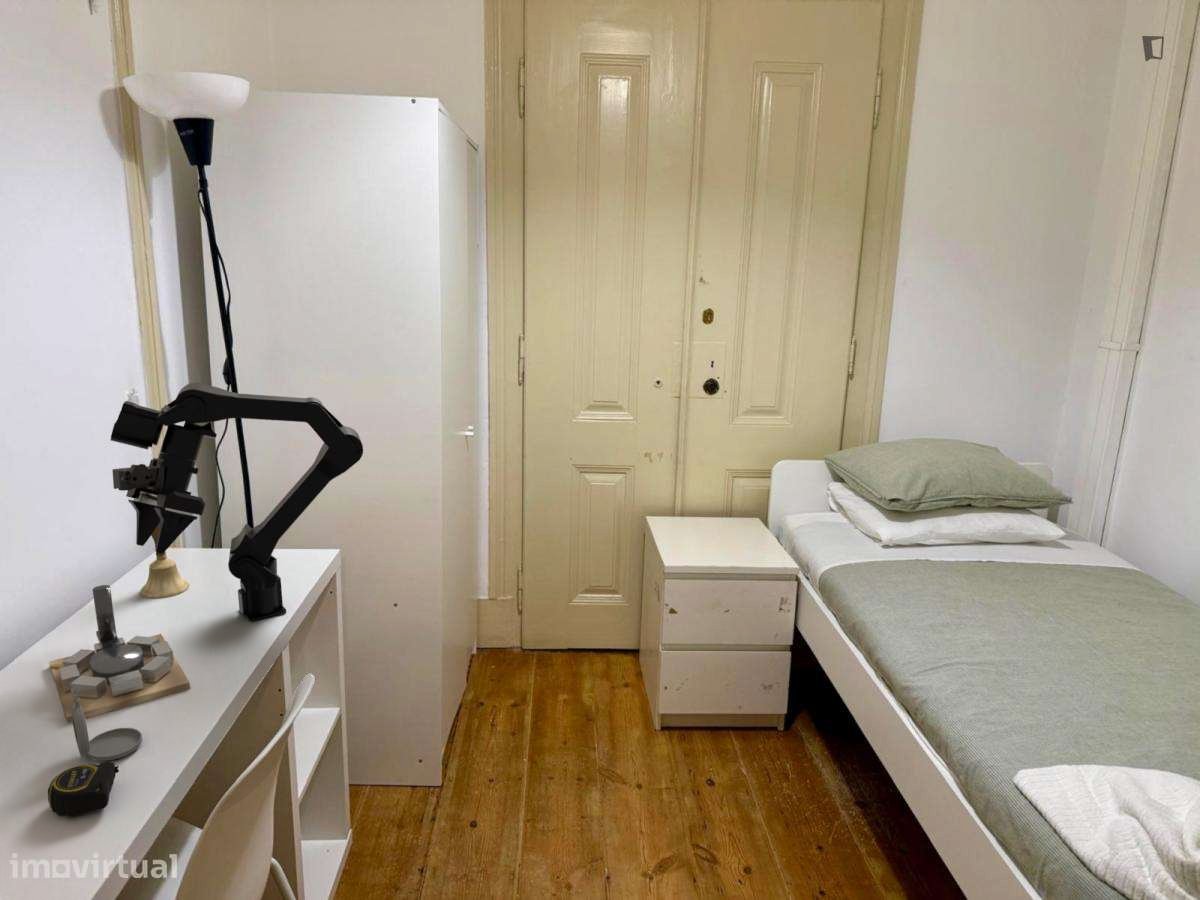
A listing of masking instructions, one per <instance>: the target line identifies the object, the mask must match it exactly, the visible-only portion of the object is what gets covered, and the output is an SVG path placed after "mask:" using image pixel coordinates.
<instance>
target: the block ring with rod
mask: <svg viewBox="0 0 1200 900" xmlns="http://www.w3.org/2000/svg"><path fill="white" fill-rule="evenodd" d="M92 596H93V604H94V611H95V617H96V623H97V624H96V625H97V630H96V631H95V634H96V638H97V640H98V642H97V643H93V647H94V649H83V648H82V649H79V650H78V651H77V652H75V653H74V654H73V655H70V656H71V657H69V656H68V657H69V658H68V659H66V660H65V661H63V666H64V667H62V668H59V674H60V680H61V683H62V686H63V689H64V692H66V691H70V690H71V689H72V690H73V691H74V692H75V694H76V695H78V696H79V697H89V698H99V697H100V696H101V695H102V694H104V693H105V692H106V691H108V688H107V681H106V678H99V677H88V676H80V673H81V672H83V671H84V670H86V669H87V668H88V667H90V666H91V665H90V658H91V657H92V656H93V655H94V654H95V653H97V652H98V651H100V650H103V649H105V648H108V647H112V646H116V645H124V644H125V643H126V642H125V639H124V637H118V635H117V629H116V627H117V626H116V621H115V612H114V606H113V605H114V604H113V598H112V590H111V586H110V585H108V584H103V585H102V584H101V585H98V586H94V587H93V588H92ZM127 644H131V645H137V646H139V647H141V649H142V652H143V655H148V656H152V655H153V657H154V659H152V660H151V661H150V662H149V663H147V664H146V665H145V666H144V667H142V668H141V669H140V670H141V674H140V672H139V670H136V671H133V672H129V673H125V674H121V675H118V676H114V677H110V678H108V679H109V687H110V691H111V694H112V696H117V695H121V694H124V693H128V692H131V691H135V690H138V689H142V688H143V683H142V681H147V682H156V681H158V680H159V679H160V678H161V677H162V676H164V675H165V674H166V673H167V672H168V671H170V670H171V669H172V668H171V663H174V658H173V655H174V652H173V651H174V650H172V647H171V646H170V644H169V643H168V641H167V640H165V642H161V643H160V642H159V638H154V637H150V636H143V635H141V636H140V635H135V636H134V637H132V638H130V640H128V641H127ZM94 650H95V651H94Z"/></svg>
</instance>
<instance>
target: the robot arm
mask: <svg viewBox="0 0 1200 900" xmlns="http://www.w3.org/2000/svg"><path fill="white" fill-rule="evenodd" d="M229 419H230V420H231V419H245V420H246V419H248V420H261V421H262V420H265V421H281V422H298V423H307V425H308V426H310V427H311V429H312V430H313V431H314V432H315V434H317V436H318V437H319V439H321V441H322V442H323V443H322V446H321V447H320V448H319V451H318V452H317V455H316V458H315V460H314V462H313V463H312V464H311V466H310V467H309V468H308V469H307V471H305V473H304V474H303V475H302V476H301V477H300V479H299V480H298V481H297V482H296V483H295V484H294V485H293V487H291V488H290V489H289V491H288V492H287V493H286V494H285V495H284V497H283V498H282V499H281V500H279V502H278V503H277V504H276V506H275V507H274V508H273V509H272V510H271V512H270V513H268V515H267V516H266V517H265V518H264V519H263V520H262V521H261V522H260V523H259V524H257V525H255V526H254V527H251V526H250V525H249V524H247V523H245V524H244V526H243V527H242V529H241V531H240V532H239V534H237V535H235V537H233V538H232V539H231V541H230V549H229V554H228V555H229V557H228V564H227V565H228V567H227V568H228V571H229V572H230V574H231V575H232V576H233V577H234V578H237V579H239V584H240V585H239V587H240V588H239V589H237V597H238V598H237V599H238V608H239V612H240V613H241V614H242V615H243V616H245V618H246V619H247V620H248V621H249V622H255V621H258V620H261V619H262V620H263V619H266V618H270V617H274V616H279V615H282V614H285V613H287V609H286V608H285V606H284V605H283V603H284V602H283V592H282V578H281V577H280V576H279V575H278V559H277V558H276V557H275V556H273V552H274V550H275V549H276V546H277V544H278V542H279V540H281V538H282V537H283V535H284V534H285V533H286V532H287V531H288V530H289V529H290V528H291V527H292V525H293V524H294V523H295V522H296V521H297V520H298V518H299V517H301V515H303V513H304V512H305V511H306V510H307V508H308V507H309V506H310V505H311V504H312V503H313V502H314V500H315V499H316V498H317V497H318V495H320V493H321V492H322V491H323V490H324V489H325V488H326V487H327V485H328V484H329V483H330V482H331V481H333V480H334V479H335V478H337V477H339V476H341V475H343V474H344V473H346V472H347V471H348V470H350V469H351V468H352V467H353V466H354V465H356V464H357V463H358V462H359V461H360V460H361V459H362V457H363V453H364V446H363V443H362V440H361V438H360V435H359V433H358V432H357V431H356V430H355V429H354V428H352V427H350V426H345V425H343V424H342V423H341V421H339V420H338V418H337V417H336V416H335V415H334V414H333V413H332V412H330V410H328V409H327V408H326V407H325V406H324V404H323V402H322V401H321V400H320V399H318V398H316V397H312V396H311V397H310V396H309V397H293V396H282V395H281V396H278V395H264V394H263V395H262V394H251V393H250V394H248V393H237V392H233V391H229V390H226V389H223V388H220V387H217V386H213V385H209V384H204V383H201V382H192V383H188V384H186V385H184V386H183V387H182V388H181V389H180V391H179V392H178V393H177V395H176V398H175V399H174V400H172V401H170V403H168V404H165V405H164V406H163V407H162V408H161V409H160V410H158V409H154V408H149V407H146V406H143V405H140V404H137V403H135V402H133V401H129V400H125V401H124V402H123V403H122V406H121V410H120V412H119V414H118V417H117V420H116V421H115V422H114V424H113V427H112V430H111V435H110V441H111V442H116V443H120V444H124V445H128V446H131V447H136V448H140V449H143V450H149V448H152V447H153V446H158V445H159V444H158V443H159V441H160V438H161V435H162V432H163V428H164V427H167V428H166V431H165V435H164V438H163V440H162V443H161V446H160V449H159V453H158V456H157V457H153V458H152V459H150V461H149V465H146V464H144V463H140V464H131V466H130V467H122V468H113V469H112V470H111V471H112V483H113V489H114V490H116V489H118V491H123V492H125V491H127V493H126V495H125V496H126V497H127V498H128V503H130V505H131V506H132V507H133V509H134V511H135V513H136V534H135V535H136V536H135V537H136V538H135V539H136V540H135V543H136V545H137V546H142V547H144V546H145V544H146V543H147V542H148V541H149V539H150V537H152V536H151V535H152V533H153V532H154V530H155V529H156V528H157V526H158V525H159V523H160V525H159V531H158V537H157V544H156V551H155V554H156V553H161V554H163V553H164V552H165V551H166V552H167V550H168V549H169V547H170V546H171V545H173V543H174V542H175V541H176V540H177V539H178V538H179V537H180V536H181V534H182V533H183V532H184V531H185V530H186V529H187V528H188V527H189V526H190V525H191V524H192V523H193V522H194V521H195V520H198V516H196V515H199V516H203V514H204V510H205V507H206V503H205V502H204V499H203V498H202V497H201V496H197V495H192V492H191V491H188V490H189V487H190V483H191V481H192V476H193V475H198V472H199V468H198V467H196V465H197V461H198V457H199V454H200V451H201V448H202V444H203V441H204V438H205V437H206V438H210V439H216V438H217V436H218V434H217V433H216V432H215V431H214V429H213V426H212V423H214V422H220V421H225V420H229ZM182 422H184V424H183V425H178V424H179V423H182ZM204 423H206V424H204ZM203 424H204V425H203ZM129 498H130V499H129Z"/></svg>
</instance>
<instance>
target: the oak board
mask: <svg viewBox="0 0 1200 900" xmlns="http://www.w3.org/2000/svg"><path fill="white" fill-rule="evenodd" d="M149 637H154V638H159V642H160V643H161V642H165V641H166V639H165V638H164V636H163V635H162V633H159V634H156V635H155V634H154V635H151V636H149ZM127 642H128V641H127ZM127 642H125V644H127ZM93 650H94V651H95V649H93ZM71 656H72V655H70V656H65V657H62V658H57V659H54V660H49V669H50V671H51V674H52V675H51V676H52V678H53V681H54V684H55V686H56V690H57V693H58V696H59V700H60V702H61V706H62V710H63V712H64V716H65V719H66V722H67V724H70V723H71V724H72V723H73V720H72V713H71V707H72V706H73V705H75V703H74V698H73V696H72V693H71V690H70V691H66V692H64V689H63V686H62V683H61V680H60V674H59V668H62V667H64V666H63V661H65V660H66V659H68V658H69V657H71ZM173 658H174V663H171V668H172V669H171V670H170V671H168V672H167V673H166V674H165V675H164V676H162V677H161V678H160V679H159V680H158V681H156V682H147V681H142V683H143V688H142V689H138V690H135V691H131V692H128V693H124V694H121V695H117V696H112V694H111V691H110V687H109V685H107V688H108V691H106V692H105V693H104V694H102V695H101V696H100V697H99V698H89V697H79V698H80V705H81V706H82V708H83V712H84V715H85V719H87V718H91V717H95V716H97V715H98V716H99V715H102V714H105V713H109V712H111V711H112V712H113V711H115V710H118V709H119V710H120V709H123V708H126V707H129V706H134V705H136V704H140V703H144V702H147V701H150V700H153V699H158V698H162V697H164V696H168V695H171V694H175V693H178V692H179V693H180V692H183V691H185V690H186V691H187V690H189V689H191V684H190V683H191V682H190V680H189V678H188V677H187V675H186V674H185V672H184V671H183V668H182V667H181V665H180V664H179V662H178V660H177V659H176V657H175V655H174V654H173ZM152 659H154V657H153V655H152V656H148V655H143V660H144V666H145V665H146V664H147V663H149V662H150V661H151V660H152ZM80 676H88V677H92V672H91V666H90V667H88V668H87V669H86V670H84V671H83V672H81V673H80Z"/></svg>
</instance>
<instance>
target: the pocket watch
mask: <svg viewBox="0 0 1200 900" xmlns="http://www.w3.org/2000/svg"><path fill="white" fill-rule="evenodd" d="M71 693H72V696H73V698H74V703H75V705H73V706H72V707H71V713H72V720H73V722H72V725H73V731H74V737H75V742H76V746H77V749H78V753H79V755H80V756H87V757H88V758H89V759H92V760H95V761H99V762H106V761H113V760H117V759H119V758H123V757H125V756H127V755H129V754H131V753H133V752H134V751H136V750H137V749H138V748H139V746H140V745H141V744H142V741H143V734H142V732H141V731H140V730H138V729H136V728H133V727H119V728H114V729H110V730H107V731H104V732H102V733H99V734H97V735H96V736H94V737H93V738H92V739H90V737H89V731H88V726H87V721H86V718H85V715H84V712H83V708H82V706H81V705H80V698H79V696H78V695H76V694H75V692H74V691H73V690H72V689H71Z"/></svg>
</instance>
